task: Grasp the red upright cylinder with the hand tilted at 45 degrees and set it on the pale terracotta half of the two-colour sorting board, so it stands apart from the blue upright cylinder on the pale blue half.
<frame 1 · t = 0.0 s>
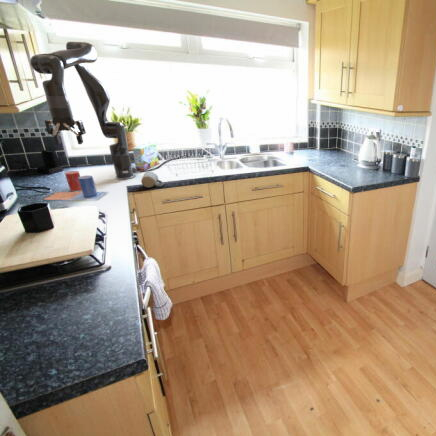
hand: (70, 143, 145), 29 cm above the worktop, tool pointing down, fingers open, 8 cm apart
red upright cylinder: (77, 190, 174), on the worktop
blue upright cylinder: (90, 195, 165), point 1 cm above the worktop, touching sorting board
ceramic mug: (153, 186, 185), on the worktop
sorting board: (76, 196, 165), on the worktop
snack box: (148, 167, 221), on the worktop
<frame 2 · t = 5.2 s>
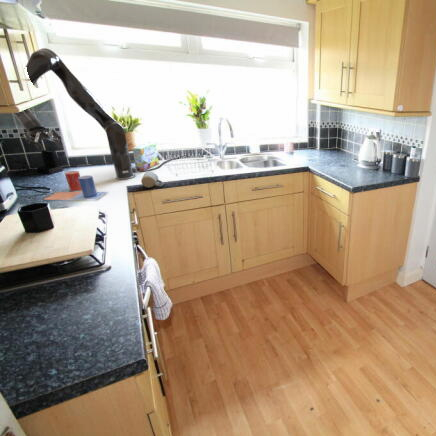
hand: (51, 148, 169), 22 cm above the worktop, tool tilted 45°, fingers open, 8 cm apart
nothing on the worktop moved.
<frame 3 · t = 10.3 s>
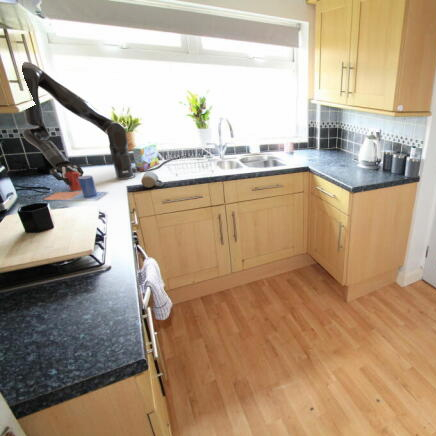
hand: (77, 183, 171), 4 cm above the worktop, tool tilted 45°, fingers closed on red upright cylinder, 6 cm apart
red upright cylinder: (77, 190, 174), on the worktop, touching gripper
everything else where it was.
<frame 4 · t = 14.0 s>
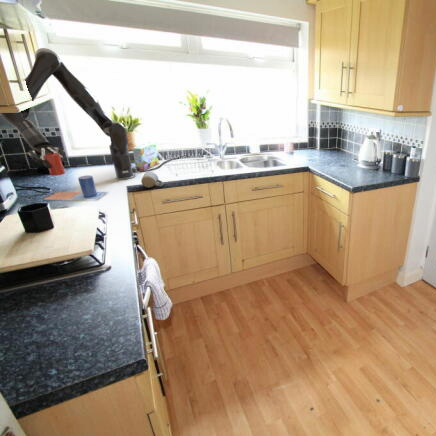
hand: (57, 166, 158), 16 cm above the worktop, tool tilted 45°, fingers closed on red upright cylinder, 6 cm apart
red upright cylinder: (58, 173, 160), point 12 cm above the worktop, touching gripper
everything else where it was.
when the fingers open (5 cm above the worktop, at t = 17.8 s): red upright cylinder stays where it is, resting on sorting board.
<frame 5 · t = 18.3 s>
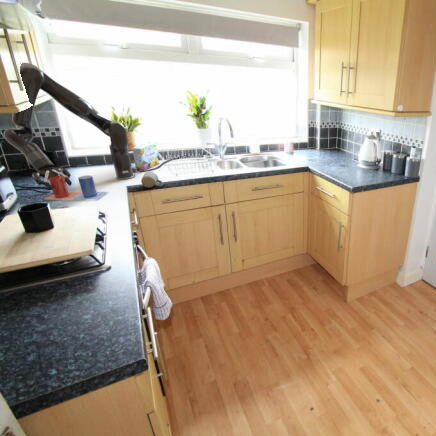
hand: (61, 187, 161), 6 cm above the worktop, tool tilted 45°, fingers open, 8 cm apart
red upright cylinder: (62, 196, 163), point 1 cm above the worktop, touching sorting board
everything else where it was.
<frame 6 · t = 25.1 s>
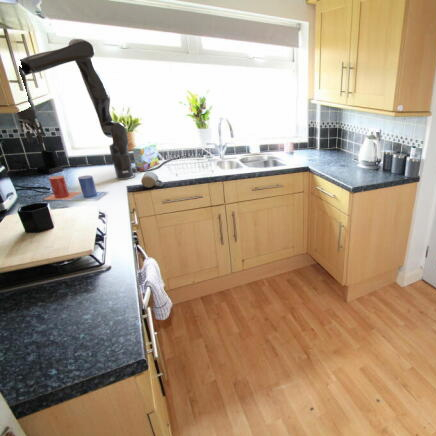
hand: (36, 142, 159), 26 cm above the worktop, tool pointing down, fingers open, 8 cm apart
nothing on the worktop moved.
at the end: red upright cylinder inside the target area (0.1 cm from its centre), point 0.6 cm above the worktop; red upright cylinder tilted 0°; blue upright cylinder moved 0.0 cm from its start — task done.
